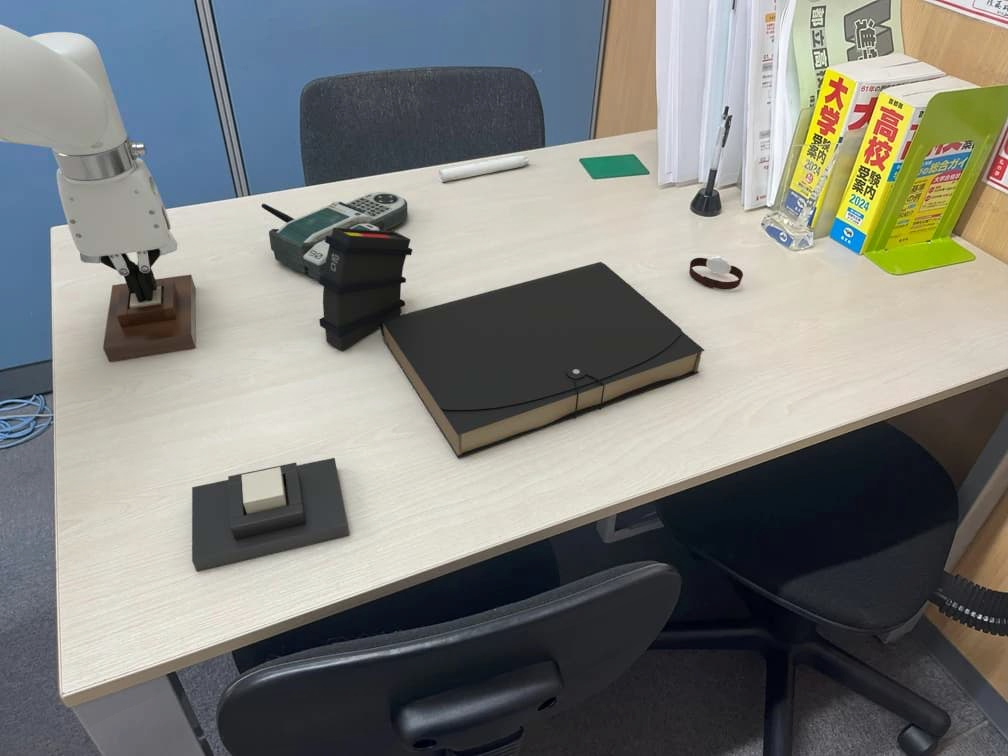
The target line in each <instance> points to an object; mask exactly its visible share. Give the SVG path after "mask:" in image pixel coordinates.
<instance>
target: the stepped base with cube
mask: <svg viewBox="0 0 1008 756" xmlns="http://www.w3.org/2000/svg"><path fill="white" fill-rule="evenodd" d="M277 467H280V468H281V472H282V476H283V481H284V489H285V497H286V505H287V506H284V507H280V508H275V509H271V510H266V511H262V512H257V513H252V514H248V515H247V513H246V510H245V507H244V504H243V491H242V475H243V474H248V473H253V472H258V471H263V470H267V469H272V468H277ZM344 537H345V538H346V537H350V529H349V523H348V519H347V514H346V509H345V503H344V498H343V493H342V487H341V483H340V477H339V473H338V468H337V462H336V458H335V457H331V458H327V459H322V460H316V461H311V462H307V463H302V464H297V462H290V463H287V464H286V463H285V464H282V465H281V464H280V465H277V466H276V465H275V466H271V467H266V468H262V469H257V470H252V471H247V472H243V473H238V474H233V475H228V477H227V479H225V480H221V481H220V480H219V481H215V482H211V483H210V482H209V483H205V484H201V485H197V486H192V487H191V562H192V564H193V567H194V569H195V571H196V572H201V571H205V570H209V569H213V568H218V567H222V566H226V565H231V564H234V563H238V562H243V561H247V560H251V559H252V560H253V559H256V558H259V557H265V556H268V555H273V554H276V553H281V552H285V551H290V550H293V549H298V548H302V547H306V546H310V545H315V544H319V543H324V542H328V541H332V540H335V539H340V538H344Z"/></svg>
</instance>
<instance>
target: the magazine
mask: <svg viewBox="0 0 1008 756" xmlns="http://www.w3.org/2000/svg"><path fill="white" fill-rule="evenodd" d="M325 242H326V243H327V244H329V249H328V254H327V258H326V266H325V275H324V276H320V277H319V280H318V285H321V286H322V287H323V291H322V293H323V294H322V310H323V317H321V318H319V326H320V327H321V328H322V329H324V330H325V340H326V342H327V343H328V344H329V345H331V346H333V347H334V348H336V349H338V350H339V351H345V350H346V349H348V348H349V347H351V346H353V345H354V344H357V342H359V341H361V340H362V339H364V338H365V337H367V336H369V335H371V334H372V333H374V332H375V331H377V330H380V321H381V320H384V319H388V318H392V317H395V316H399V315H402V308H403V307H405V306H406V301H405V300H404V299H402V298H401V290H402V284H404V283H406V282H407V278H406V277H405V276H403V270H404V266H405V261H406V258H407V256H411V255H412V254H413V249H412V248H410V247H409V246H410V243H411V239H410V238H409V237H407V236H405V235H403V234H400V233H398V232H396V231H390V230H387V231H378V230H364V229H350V228H335V227H334V228H333V232H332V236H326V239H325Z"/></svg>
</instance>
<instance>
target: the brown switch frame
mask: <svg viewBox="0 0 1008 756" xmlns="http://www.w3.org/2000/svg"><path fill="white" fill-rule="evenodd" d="M155 281H156V284H157V287H161V288H162V291H163V304H158V305H151V306H144V307H138V308H131V309H130V297H131V293H130V291H129V289H128V286H127V283H126V282H125V283H119V284H112V285H111V290H110V291H111V292H110V299H109V304H108V305H109V306H108V313H107V319H106V324H105V325H106V326H105V331H104V338H103V346H102V349H103V351H104V354H105V356H106V359H107V360H108V362H109V363H110V362H116V361H124V360H127V359H128V360H129V359H135V358H141V357H147V356H154V355H160V354H161V355H162V354H166V353H173V352H180V351H185V350H191V349H196V348H197V347H196V345H197V344H196V337H197V335H196V284H195V282H194V278H193V275H192V274H185V275H177V276H170V277H162V278H155Z"/></svg>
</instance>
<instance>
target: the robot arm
mask: <svg viewBox="0 0 1008 756" xmlns="http://www.w3.org/2000/svg"><path fill="white" fill-rule="evenodd" d="M109 79H110V78H109V76H108V73H107V70H106V66H105V64H104V61H103V58H102V55H101V53H100V50H99V48H98V46H97V45H96V43H95V42H94V41H93V40H92V39H91V38H89V37H88V36H85V35H84V34H80V33H76V32H70V31H69V32H68V31H53V32H45V33H41V34H35V35H32V36H27V35H26V34H23V33H21V32H19V31H17V30H15V29H13V28H10V27H8V26H6V25H3V24H1V23H0V142H1V143H9V144H14V145H25V146H35V147H41V148H48V149H51V151H52V153H53V156H54V159H55V161H56V163H57V166H58V168H57V170H56V184H57V189H58V194H59V197H60V201H61V202H60V203H61V205H62V210H63V212H64V216H65V219H66V223H67V226H68V230H69V232H70V235H71V238H72V240H73V243H74V245H75V247H76V250H77V251H78V252H79V258H80V261H81V262H82V263H84V264H85V263H86V264H102V265H105V266H107V267H109V268H110V269H113V270H115V271H117V273H118V275H120V276H122V277H123V278H124V281H125V283H127V286H128V289H129V291H130V293H131V294H132V293H135V295H136V297H137V300H138V302H143V300H147V301H151V300H152V297H153V290H157V284H156V281H155V279H156V278H155V275H154V273H153V268H152V267H153V266H154V264H155V263H156V262H157V261H158V259H159V258H160V257H161V256H166V255H168V254H171V253H174V252H176V251H178V242H177V240H176V238H175V237H174V236H173V234H172V232H171V231H170V230H171V222H170V218H169V215H168V212H167V209H166V206H165V204H164V202H163V199H162V197H161V194H160V192H159V189H158V187H157V185H156V182H155V180H154V178H153V176H152V174H151V172H150V170H149V168H148V166H147V165H146V163H145V162H144V160H143V159H142V158H140V157H141V156H147V154H148V152H147V147H146V145H145V143H144V142H137V141H133V139H131V138H130V135H129V134H128V133H127V131H126V128H125V125H124V122H123V119H122V115H121V112H120V110H119V107H118V104H117V100H116V97H115V95H114V92H113V88H112V85H111V82H110V80H109ZM130 253H136V259H137V264H136V262H134V261H133V260H131V258H130V256H129V255H128V254H130Z"/></svg>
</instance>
